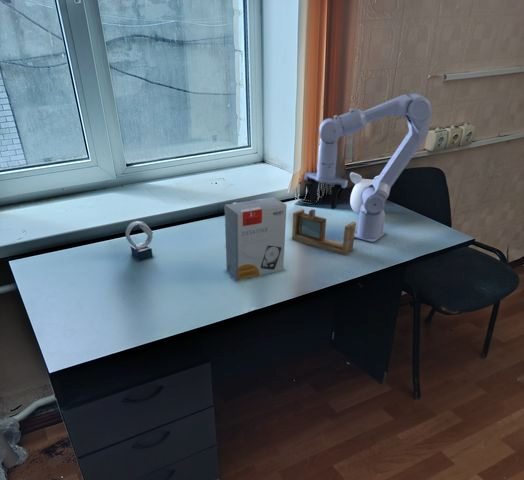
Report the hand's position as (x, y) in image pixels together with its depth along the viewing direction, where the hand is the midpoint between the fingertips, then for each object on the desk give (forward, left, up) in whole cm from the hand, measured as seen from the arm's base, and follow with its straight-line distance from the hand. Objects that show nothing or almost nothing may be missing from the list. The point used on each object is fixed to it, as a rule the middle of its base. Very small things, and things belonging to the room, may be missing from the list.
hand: (323, 205), depth 157 cm
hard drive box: (+34, -2, -11) cm, 36 cm away
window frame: (+6, +4, -10) cm, 13 cm away
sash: (+7, 0, -9) cm, 11 cm away
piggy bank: (-27, +2, -11) cm, 29 cm away
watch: (+47, -36, -11) cm, 60 cm away
